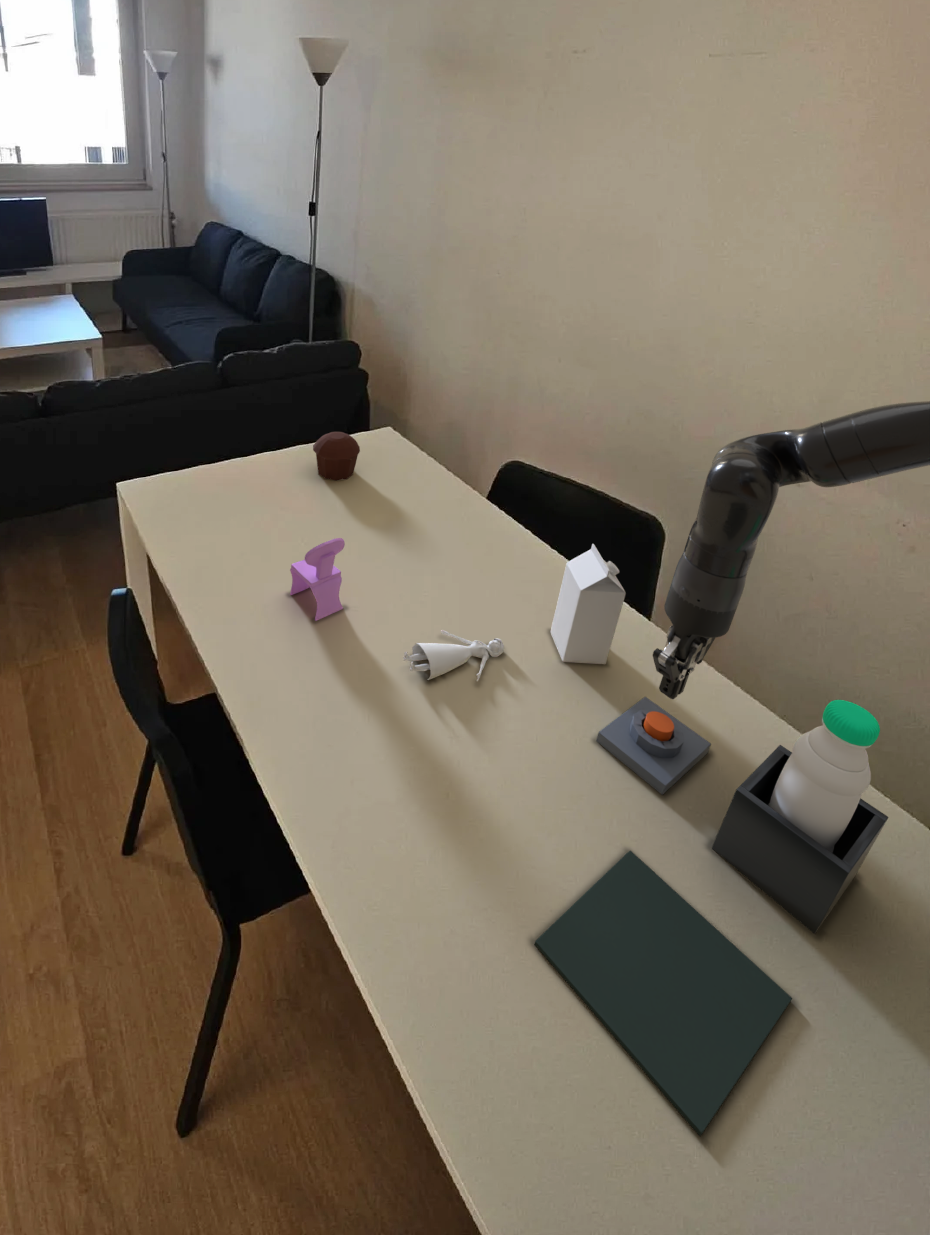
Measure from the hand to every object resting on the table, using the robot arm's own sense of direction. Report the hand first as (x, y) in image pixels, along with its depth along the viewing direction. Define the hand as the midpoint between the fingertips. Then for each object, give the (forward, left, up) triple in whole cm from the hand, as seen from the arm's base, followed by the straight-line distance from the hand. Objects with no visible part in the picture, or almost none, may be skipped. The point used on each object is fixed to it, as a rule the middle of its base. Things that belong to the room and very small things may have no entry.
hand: (670, 691), depth 93 cm
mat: (+26, +16, -11) cm, 32 cm away
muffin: (-9, -88, -11) cm, 89 cm away
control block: (0, 0, -11) cm, 11 cm away
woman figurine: (+12, -27, -11) cm, 32 cm away
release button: (0, 0, -7) cm, 7 cm away
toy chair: (+23, -51, -11) cm, 57 cm away
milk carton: (-8, -18, -11) cm, 23 cm away
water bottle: (+2, +18, -11) cm, 21 cm away
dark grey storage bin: (+2, +18, -11) cm, 21 cm away
